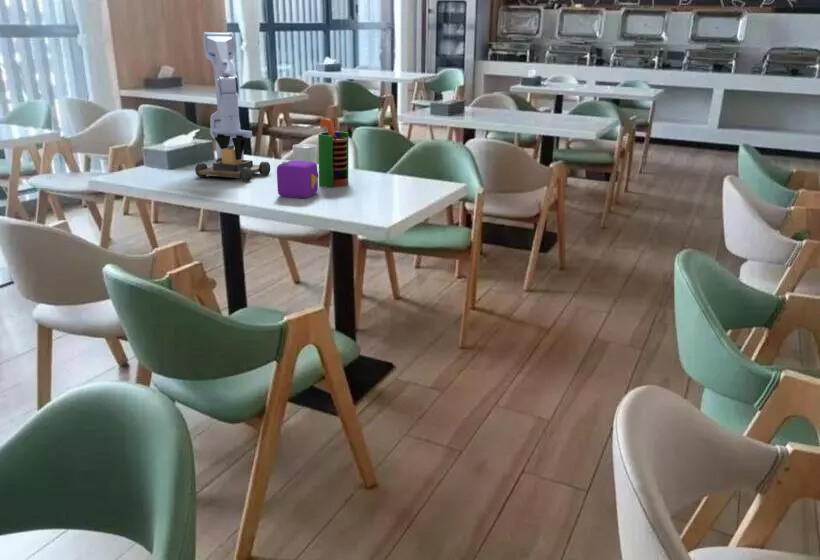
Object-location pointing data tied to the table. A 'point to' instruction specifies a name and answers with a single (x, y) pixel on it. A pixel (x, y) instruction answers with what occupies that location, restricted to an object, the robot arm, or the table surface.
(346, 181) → the motor
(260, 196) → the table surface
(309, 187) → the purple arrow cube
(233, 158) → the tan block with knob
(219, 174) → the chassis
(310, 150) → the white cup
